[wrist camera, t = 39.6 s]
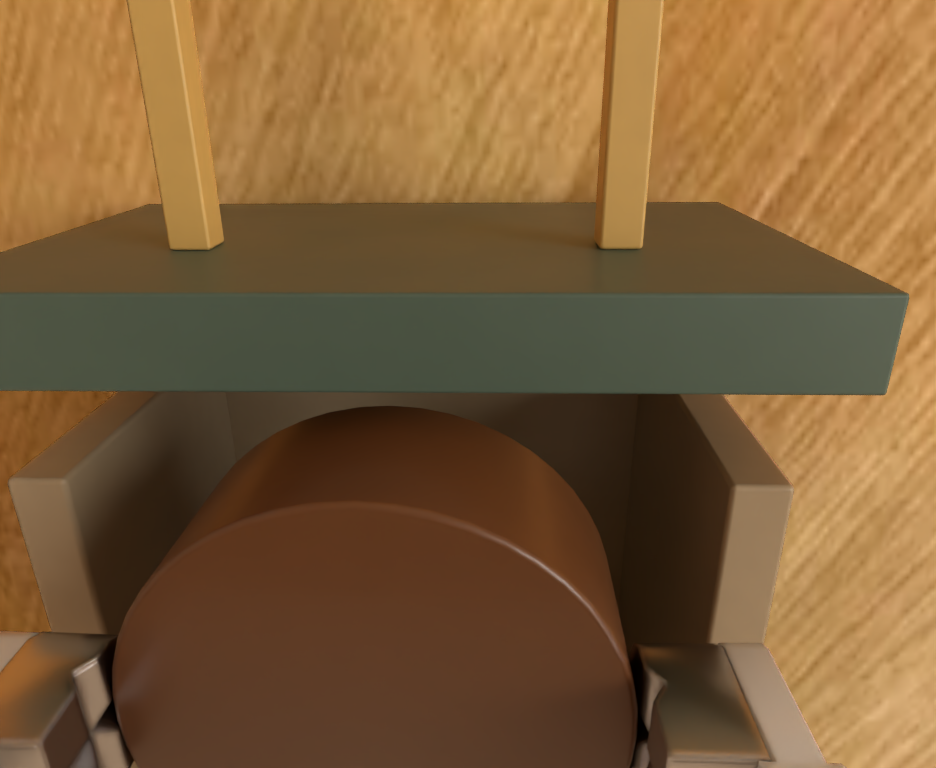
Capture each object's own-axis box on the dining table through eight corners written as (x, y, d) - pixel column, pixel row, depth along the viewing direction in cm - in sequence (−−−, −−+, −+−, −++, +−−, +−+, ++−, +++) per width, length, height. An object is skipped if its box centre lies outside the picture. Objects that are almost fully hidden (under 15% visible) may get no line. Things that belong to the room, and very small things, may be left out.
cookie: (110, 521, 10) (-3, 644, 8) (475, 321, 9) (465, 401, 6) (346, 787, 12) (309, 948, 10) (678, 658, 10) (725, 813, 8)
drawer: (91, -111, 12) (-346, -333, 6) (761, -123, 12) (1074, -376, 5) (237, 704, 19) (114, 1000, 13) (654, 713, 19) (736, 1022, 13)
